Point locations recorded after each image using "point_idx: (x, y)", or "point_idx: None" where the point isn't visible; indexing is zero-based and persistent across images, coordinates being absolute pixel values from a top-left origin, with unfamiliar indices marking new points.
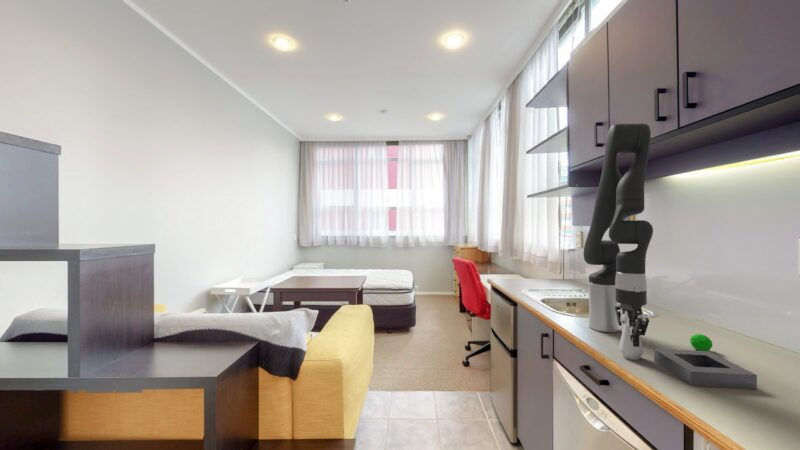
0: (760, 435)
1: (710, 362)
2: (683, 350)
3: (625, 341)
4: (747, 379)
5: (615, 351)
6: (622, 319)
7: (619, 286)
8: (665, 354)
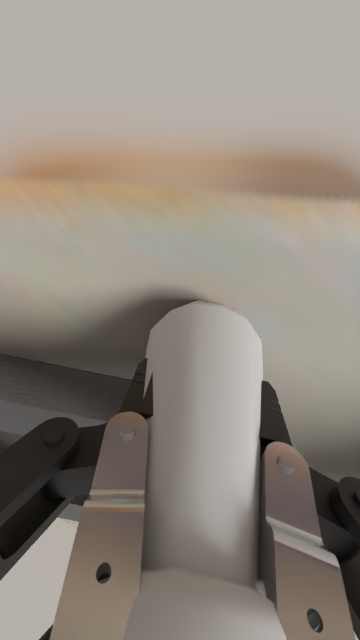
0: None
1: None
2: None
3: (181, 350)
4: None
5: (286, 308)
6: (278, 604)
7: None
8: (86, 424)
